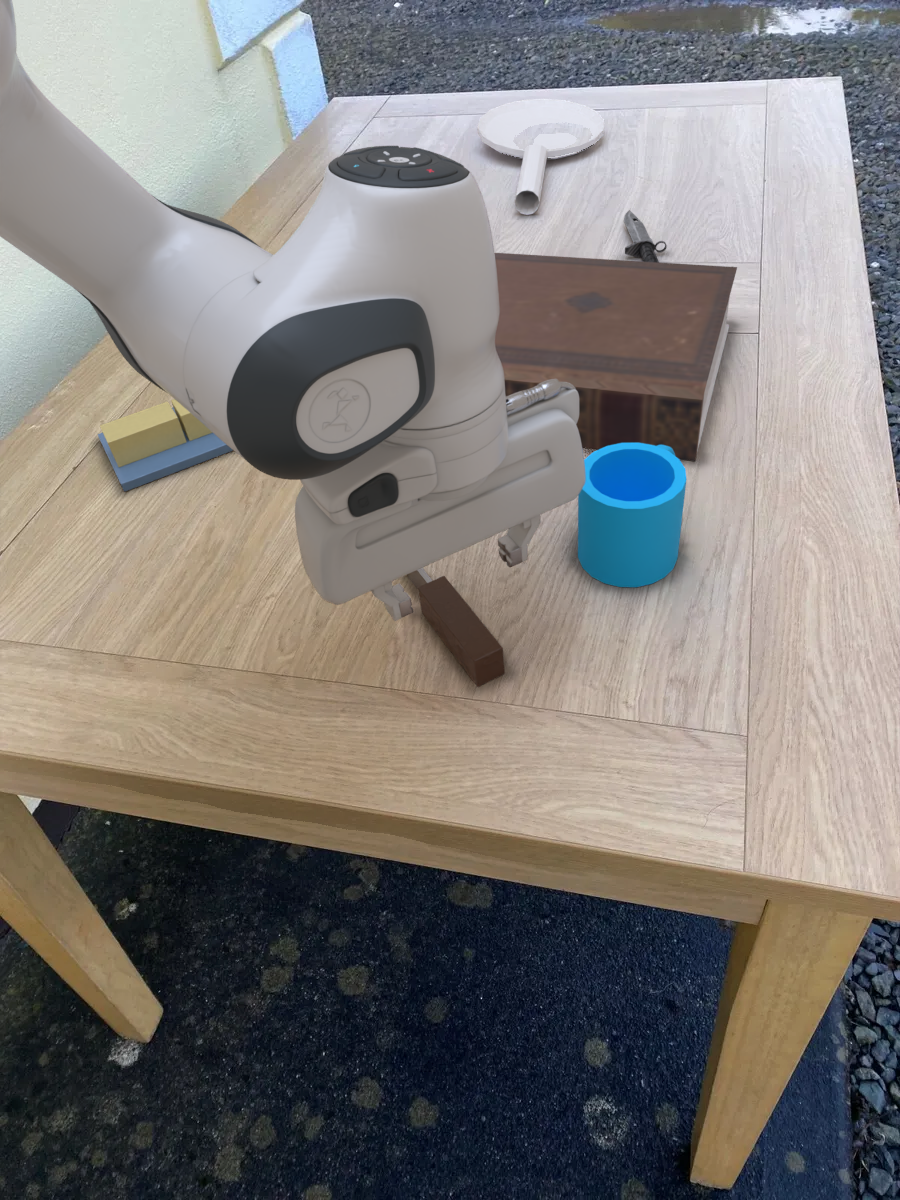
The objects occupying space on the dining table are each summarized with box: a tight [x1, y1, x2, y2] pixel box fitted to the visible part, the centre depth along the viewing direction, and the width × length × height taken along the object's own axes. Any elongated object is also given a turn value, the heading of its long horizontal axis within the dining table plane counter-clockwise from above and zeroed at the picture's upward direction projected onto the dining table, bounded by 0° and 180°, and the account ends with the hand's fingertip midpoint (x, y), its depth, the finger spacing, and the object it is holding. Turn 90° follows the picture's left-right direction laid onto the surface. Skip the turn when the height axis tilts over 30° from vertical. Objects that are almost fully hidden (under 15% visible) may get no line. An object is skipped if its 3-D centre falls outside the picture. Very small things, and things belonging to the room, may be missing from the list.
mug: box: [577, 443, 688, 588], centre depth 73 cm, size 12×8×8 cm
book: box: [494, 252, 738, 462], centre depth 92 cm, size 24×28×7 cm
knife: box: [623, 209, 668, 263], centre depth 111 cm, size 19×2×5 cm
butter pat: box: [170, 398, 213, 441], centre depth 92 cm, size 4×4×3 cm
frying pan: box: [476, 98, 605, 216], centre depth 133 cm, size 35×19×5 cm, turn 172°
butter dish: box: [97, 401, 234, 492], centre depth 92 cm, size 14×10×4 cm
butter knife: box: [406, 567, 506, 688], centre depth 73 cm, size 2×20×3 cm, turn 29°
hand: (457, 585), depth 66 cm, fingers open, 8 cm apart
